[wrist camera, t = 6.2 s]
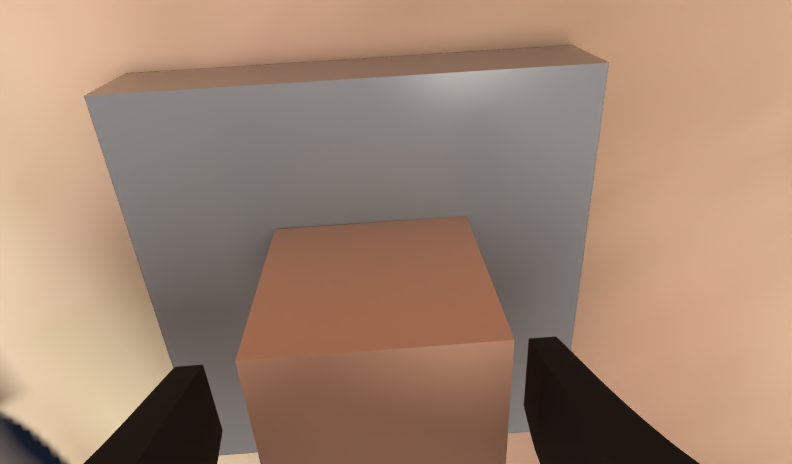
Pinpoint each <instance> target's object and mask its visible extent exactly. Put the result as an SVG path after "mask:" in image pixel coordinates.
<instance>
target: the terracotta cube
mask: <svg viewBox="0 0 792 464" xmlns="http://www.w3.org/2000/svg"><path fill="white" fill-rule="evenodd" d="M513 354H514V337H513V335H512V332H511V330H510V327H509V325H508V322H507V319H506V317H505V314H504V312H503V309H502V306H501V304H500V301H499V299H498V296H497V294H496V291H495V288H494V286H493V283H492V281H491V278H490V276H489V273H488V270H487V268H486V265H485V263H484V260H483V258H482V255H481V252H480V250H479V247H478V245H477V242H476V240H475V237H474V234H473V232H472V229H471V227H470V224H469V222H468V219H467V216H460V217H445V218H431V219H417V220H402V221H388V222H373V223H359V224H345V225H330V226H316V227H301V228H287V229H275V231H274V234H273V237H272V241H271V244H270V247H269V251H268V254H267V257H266V261H265V264H264V267H263V271H262V274H261V277H260V280H259V284H258V287H257V290H256V294H255V297H254V300H253V304H252V307H251V310H250V314H249V317H248V320H247V324H246V327H245V330H244V333H243V337H242V340H241V343H240V347H239V350H238V353H237V357H236V360H235V363H236V367H237V371H238V375H239V379H240V383H241V387H242V391H243V395H244V399H245V403H246V407H247V411H248V415H249V419H250V423H251V427H252V431H253V435H254V439H255V443H256V447H257V451H258V455H259V459H260V463H261V464H506V450H507V437H508V423H509V409H510V395H511V381H512V368H513Z"/></svg>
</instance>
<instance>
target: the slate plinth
mask: <svg viewBox="0 0 792 464" xmlns="http://www.w3.org/2000/svg"><path fill="white" fill-rule="evenodd" d="M608 67H609V62H607V61H605V60H603V59H600V58H598V57H596V56H594V55H592V54H590V53H588V52H586V51H584V50H582V49H580V48H578V47H576V46H574V45H565V46H549V47H533V48H517V49H502V50H486V51H470V52H454V53H439V54H423V55H407V56H391V57H375V58H360V59H344V60H328V61H312V62H297V63H281V64H265V65H249V66H233V67H218V68H202V69H186V70H170V71H155V72H139V73H126V74H124V75H122V76H120V77H118V78H116V79H115V80H113V81H111V82H109V83H107V84H105V85H103V86H102V87H100V88H98V89H96V90H94V91H92V92H90V93H88V94H87V95H85V96H84V98H85V101H86V104H87V107H88V110H89V113H90V116H91V119H92V122H93V125H94V128H95V131H96V134H97V137H98V140H99V143H100V146H101V149H102V153H103V156H104V159H105V162H106V165H107V168H108V171H109V174H110V177H111V180H112V183H113V186H114V189H115V192H116V195H117V198H118V201H119V204H120V207H121V210H122V213H123V216H124V220H125V223H126V226H127V229H128V232H129V235H130V238H131V241H132V244H133V247H134V250H135V253H136V256H137V259H138V262H139V265H140V268H141V271H142V274H143V277H144V280H145V283H146V287H147V290H148V293H149V296H150V299H151V302H152V305H153V308H154V311H155V314H156V317H157V320H158V323H159V326H160V329H161V332H162V335H163V338H164V341H165V344H166V347H167V351H168V354H169V357H170V360H171V363H172V366H173V369H174V368H175V367H178V366H191V365H203V366H204V369H205V373H206V376H207V379H208V383H209V386H210V390H211V393H212V396H213V400H214V403H215V406H216V410H217V413H218V416H219V420H220V423H221V426H222V430H223V432H222V438H221V444H220V450H219V455H229V454H242V453H255V452H258V451H257V447H256V443H255V439H254V435H253V431H252V427H251V423H250V419H249V415H248V411H247V407H246V403H245V399H244V395H243V391H242V387H241V383H240V379H239V375H238V371H237V367H236V363H235V360H236V357H237V353H238V350H239V347H240V343H241V340H242V337H243V333H244V330H245V327H246V324H247V320H248V317H249V314H250V310H251V307H252V304H253V300H254V297H255V294H256V290H257V287H258V284H259V280H260V277H261V274H262V271H263V267H264V264H265V261H266V257H267V254H268V251H269V247H270V244H271V241H272V237H273V234H274V231H275V229H287V228H301V227H316V226H330V225H345V224H359V223H373V222H388V221H402V220H417V219H431V218H445V217H460V216H467V219H468V222H469V224H470V227H471V229H472V232H473V234H474V237H475V240H476V242H477V245H478V247H479V250H480V252H481V255H482V258H483V260H484V263H485V265H486V268H487V270H488V273H489V276H490V278H491V281H492V283H493V286H494V288H495V291H496V294H497V296H498V299H499V301H500V304H501V306H502V309H503V312H504V314H505V317H506V319H507V322H508V325H509V327H510V330H511V332H512V335H513V337H514V354H513V368H512V381H511V395H510V409H509V423H508V433H517V432H530V429H529V425H528V421H527V417H526V414H525V410H524V393H525V380H526V367H527V354H528V341H529V338H542V337H554V336H556V337H557V338H558V339H560V340H561V341H562V342H563V343H564V344H565V345H566V346H567V347H568V348H569V349H570V350H571V344H572V337H573V329H574V322H575V314H576V307H577V299H578V292H579V284H580V277H581V269H582V262H583V254H584V247H585V239H586V232H587V224H588V217H589V209H590V202H591V194H592V187H593V179H594V172H595V164H596V157H597V149H598V142H599V134H600V127H601V119H602V112H603V104H604V97H605V89H606V82H607V74H608Z"/></svg>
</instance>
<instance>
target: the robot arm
mask: <svg viewBox="0 0 792 464" xmlns="http://www.w3.org/2000/svg"><path fill="white" fill-rule="evenodd" d="M524 410H525V414H526V417H527V421H528V425H529V429H530V433H531V437H532V441H533V444H534V448H535V451H536V454H537V456H538V459H539V462H540V464H699V463H698V462H696V461H695V460H694V459H692V458H691V457H690V456H688V455H687V454H685V453H684V452H683V451H681V450H680V449H679V448H678V447H676V446H675V445H674V444H672V443H671V442H670V441H669V440H667V439H666V438H665V437H664V436H662V435H661V434H660V433H659V432H658V431H656V430H655V429H654V428H653V427H652V426H650V425H649V424H648V423H647V422H646V421H645V420H643V419H642V418H641V417H640V416H639V415H638V414H637V413H635V412H634V411H633V410H632V409H631V408H630V407H629V406H628V405H626V404H625V403H624V402H623V401H622V400H621V399H620V398H619V397H618V396H617V395H616V394H615V393H613V392H612V391H611V390H610V389H609V388H608V387H607V386H606V385H605V384H604V383H603V382H602V381H601V380H600V379H599V378H598V377H597V376H596V375H595V374H594V373H593V372H592V371H590V370H589V369H588V368H587V367H586V366H585V365H584V364H583V363H582V362H581V361H580V360H579V359H578V358H577V357H576V356H575V355H574V353H573V352H572V351H571V350H570V349H569V348H568V347H567V346H566V345H565V344H564V343H563V342H562V341H561V340H560V339H558V338H557V337H556V336H554V337H542V338H529V341H528V354H527V367H526V380H525V393H524ZM222 432H223V430H222V426H221V423H220V420H219V416H218V413H217V410H216V406H215V403H214V400H213V396H212V393H211V390H210V386H209V383H208V379H207V376H206V373H205V369H204V366H203V365H191V366H178V367H175V368H174V369H173V370H172V371H171V372H170V373H169V374H168V375H167V376H166V377H165V378H164V379H163V380H162V381H161V383H160V384H159V385H158V386H157V387H156V388H155V389H154V390H153V391H152V392H151V393H150V395H149V396H148V397H147V398H146V399H145V400H144V401H143V402H142V403H141V404H140V406H139V407H138V408H137V409H136V410H135V411H134V412H133V413H132V414H131V415H130V416H129V417H128V419H127V420H126V421H125V422H124V423H123V424H122V425H121V426H120V427H119V428H118V429H117V430H116V431H115V432H114V433H113V434H112V435H111V437H110V438H109V439H108V440H107V441H106V442H105V443H104V444H103V445H102V446H101V447H100V448H99V449H98V450H97V451H96V452H95V453H94V454H93V455H92V456H91V457H90V458H89V459H88V460H87V461H86V462H85V463H84V464H217V461H218V456H219V450H220V444H221V438H222Z"/></svg>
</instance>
